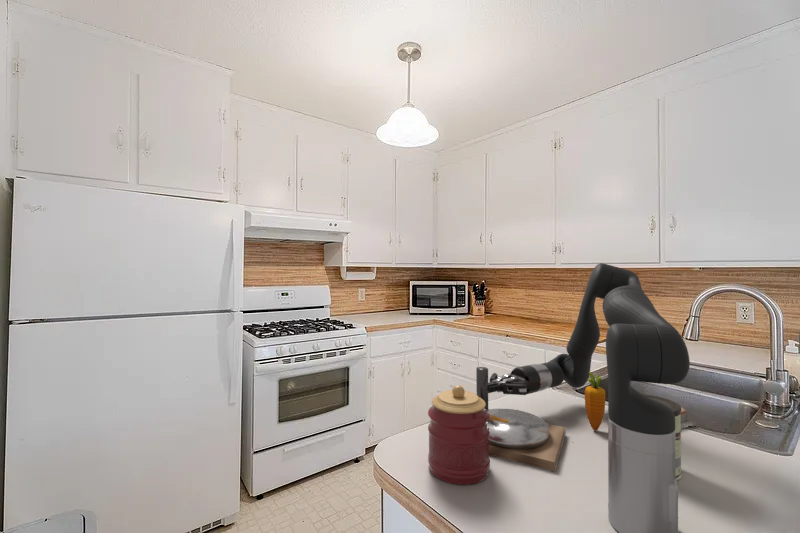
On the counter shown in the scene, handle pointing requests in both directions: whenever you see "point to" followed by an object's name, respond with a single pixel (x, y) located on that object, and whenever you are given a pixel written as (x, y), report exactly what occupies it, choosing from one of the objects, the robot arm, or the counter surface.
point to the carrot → (595, 402)
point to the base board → (535, 451)
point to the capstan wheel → (511, 422)
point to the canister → (459, 437)
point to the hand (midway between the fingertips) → (483, 388)
